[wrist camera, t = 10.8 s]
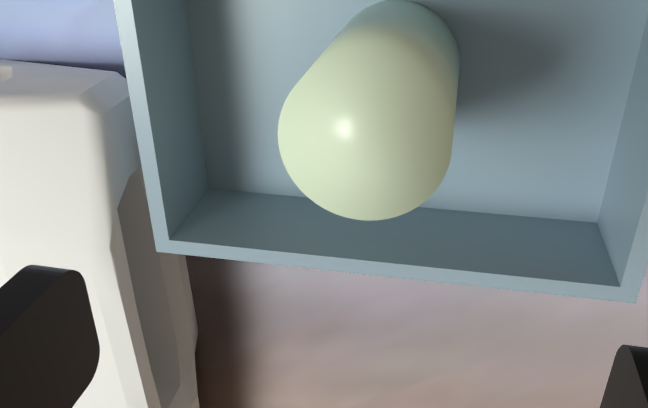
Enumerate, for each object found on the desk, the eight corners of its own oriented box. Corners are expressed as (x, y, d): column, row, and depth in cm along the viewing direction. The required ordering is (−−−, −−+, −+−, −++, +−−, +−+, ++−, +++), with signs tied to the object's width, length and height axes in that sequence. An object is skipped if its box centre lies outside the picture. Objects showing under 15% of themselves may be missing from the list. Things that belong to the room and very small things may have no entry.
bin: (701, -150, 18) (772, -152, 14) (606, 226, 25) (635, 303, 21) (163, -144, 21) (88, -144, 17) (203, 191, 28) (156, 251, 24)
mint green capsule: (469, 6, 21) (465, 67, 15) (449, 131, 23) (438, 232, 17) (337, -6, 22) (278, 46, 15) (330, 116, 24) (276, 207, 18)
